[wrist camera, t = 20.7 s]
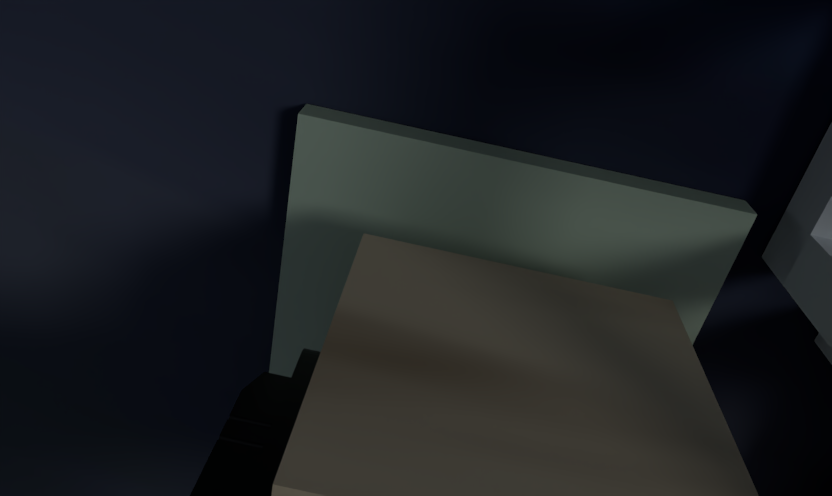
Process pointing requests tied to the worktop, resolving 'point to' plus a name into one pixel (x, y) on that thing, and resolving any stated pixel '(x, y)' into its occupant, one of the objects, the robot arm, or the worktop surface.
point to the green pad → (486, 220)
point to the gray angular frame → (808, 245)
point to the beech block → (503, 389)
